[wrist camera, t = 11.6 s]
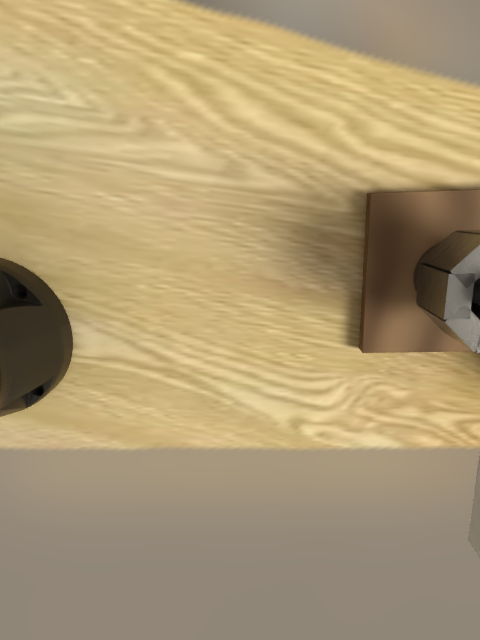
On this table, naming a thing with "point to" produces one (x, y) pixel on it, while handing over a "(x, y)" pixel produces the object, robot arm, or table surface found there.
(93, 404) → the table surface
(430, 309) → the ring
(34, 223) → the table surface
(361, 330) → the base board
